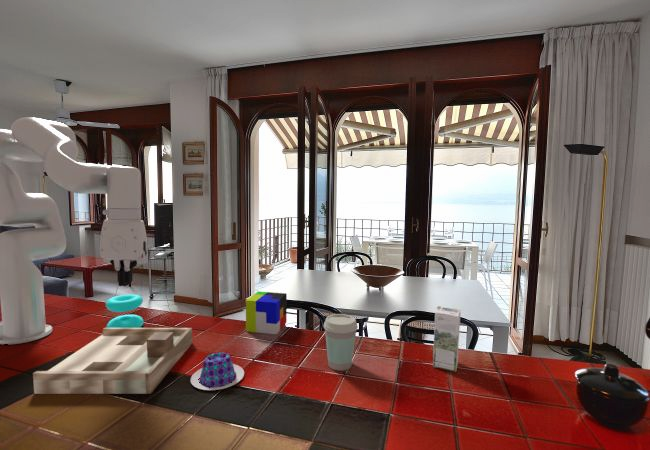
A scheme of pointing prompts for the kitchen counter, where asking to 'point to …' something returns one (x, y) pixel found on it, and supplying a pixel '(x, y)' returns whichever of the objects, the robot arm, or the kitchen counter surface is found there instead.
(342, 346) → the coffee cup
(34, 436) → the kitchen counter surface
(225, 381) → the pudding
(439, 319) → the syrup box
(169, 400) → the kitchen counter surface
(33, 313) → the robot arm
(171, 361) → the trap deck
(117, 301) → the donuts
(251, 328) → the puzzle toy
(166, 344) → the walnut block
